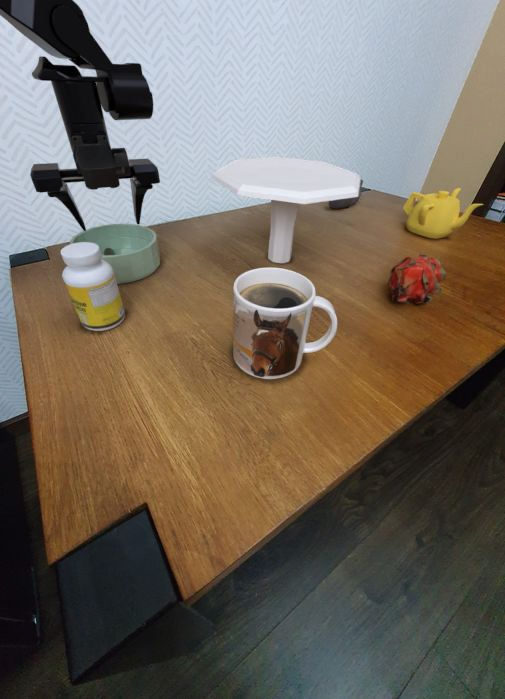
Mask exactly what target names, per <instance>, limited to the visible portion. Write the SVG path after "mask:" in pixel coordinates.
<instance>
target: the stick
mask: <svg viewBox="0 0 505 699" xmlns="http://www.w3.org/2000/svg"><path fill="white" fill-rule="evenodd" d="M104 255H115V252H114V250H113V249H111V248H106V249H105V250H104Z"/></svg>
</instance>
